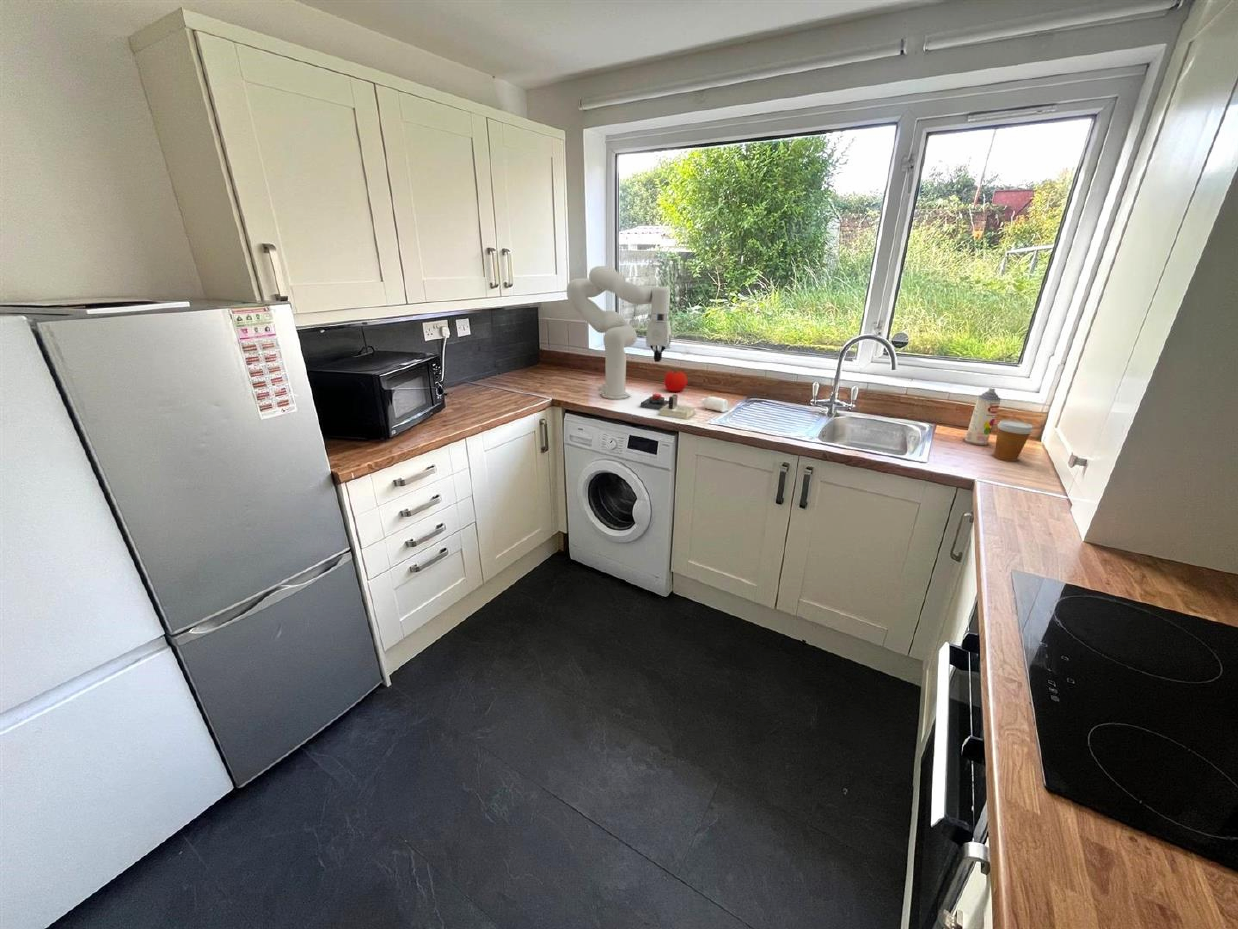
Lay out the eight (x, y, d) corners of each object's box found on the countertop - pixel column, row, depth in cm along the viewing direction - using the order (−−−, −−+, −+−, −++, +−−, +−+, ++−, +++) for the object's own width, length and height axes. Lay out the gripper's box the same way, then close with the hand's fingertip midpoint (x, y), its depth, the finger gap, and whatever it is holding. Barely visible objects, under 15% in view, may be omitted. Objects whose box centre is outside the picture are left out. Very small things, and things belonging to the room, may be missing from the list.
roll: (703, 405, 223) (704, 393, 221) (727, 410, 216) (729, 397, 214) (696, 408, 219) (697, 395, 217) (721, 413, 212) (722, 400, 210)
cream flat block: (657, 414, 207) (657, 408, 206) (665, 409, 216) (666, 403, 215) (686, 419, 202) (687, 412, 201) (694, 413, 211) (694, 407, 210)
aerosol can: (979, 446, 178) (996, 391, 171) (960, 440, 184) (976, 387, 177) (991, 444, 181) (1008, 390, 174) (972, 438, 187) (987, 385, 179)
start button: (651, 399, 217) (651, 395, 217) (654, 397, 220) (654, 393, 220) (659, 400, 216) (659, 396, 215) (661, 398, 219) (662, 394, 218)
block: (640, 407, 218) (641, 398, 216) (648, 402, 225) (648, 394, 224) (664, 410, 214) (664, 401, 212) (671, 405, 221) (672, 397, 220)
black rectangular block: (672, 409, 206) (673, 396, 204) (668, 408, 207) (669, 396, 205) (677, 406, 211) (677, 394, 209) (673, 405, 211) (673, 393, 209)
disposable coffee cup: (1024, 465, 161) (1036, 429, 157) (988, 459, 166) (999, 424, 162) (1020, 456, 169) (1032, 422, 165) (987, 451, 174) (997, 418, 169)
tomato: (670, 387, 256) (671, 367, 252) (690, 390, 250) (692, 370, 246) (658, 391, 247) (659, 370, 243) (678, 394, 241) (680, 373, 237)
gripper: (639, 317, 210) (638, 361, 216) (673, 319, 204) (670, 364, 211) (646, 315, 216) (644, 358, 223) (679, 318, 210) (676, 361, 217)
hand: (657, 361), depth 217 cm, fingers closed
